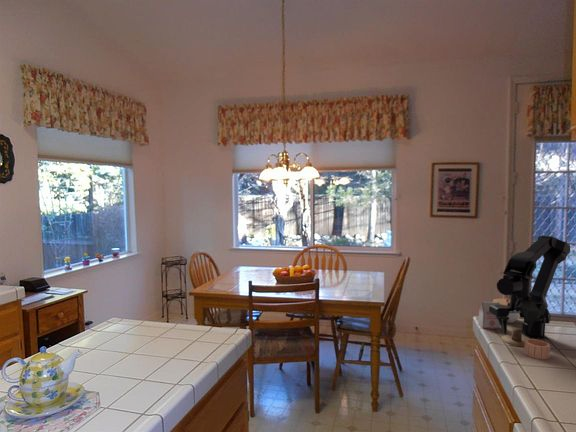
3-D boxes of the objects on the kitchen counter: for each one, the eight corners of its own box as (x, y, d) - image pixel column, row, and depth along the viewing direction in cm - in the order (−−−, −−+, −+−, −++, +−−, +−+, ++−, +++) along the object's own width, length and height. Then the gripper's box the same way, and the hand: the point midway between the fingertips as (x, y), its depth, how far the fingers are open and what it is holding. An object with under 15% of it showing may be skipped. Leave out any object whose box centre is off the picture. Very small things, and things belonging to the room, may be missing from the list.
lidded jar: (525, 325, 156) (526, 302, 155) (496, 323, 158) (497, 300, 157) (515, 317, 166) (516, 295, 166) (488, 314, 168) (489, 293, 168)
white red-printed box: (478, 324, 155) (479, 300, 155) (495, 325, 155) (496, 301, 154) (482, 328, 152) (484, 303, 151) (499, 328, 152) (501, 303, 151)
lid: (520, 337, 143) (521, 324, 143) (537, 347, 134) (538, 333, 134) (496, 337, 143) (497, 324, 143) (511, 347, 134) (512, 333, 134)
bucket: (539, 350, 132) (540, 338, 132) (554, 359, 125) (555, 347, 125) (519, 350, 132) (520, 338, 131) (533, 359, 125) (534, 347, 124)
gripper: (508, 297, 129) (505, 343, 130) (562, 298, 130) (558, 343, 131) (489, 288, 140) (486, 330, 141) (539, 289, 141) (536, 331, 142)
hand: (517, 334), depth 138 cm, fingers open, 9 cm apart
